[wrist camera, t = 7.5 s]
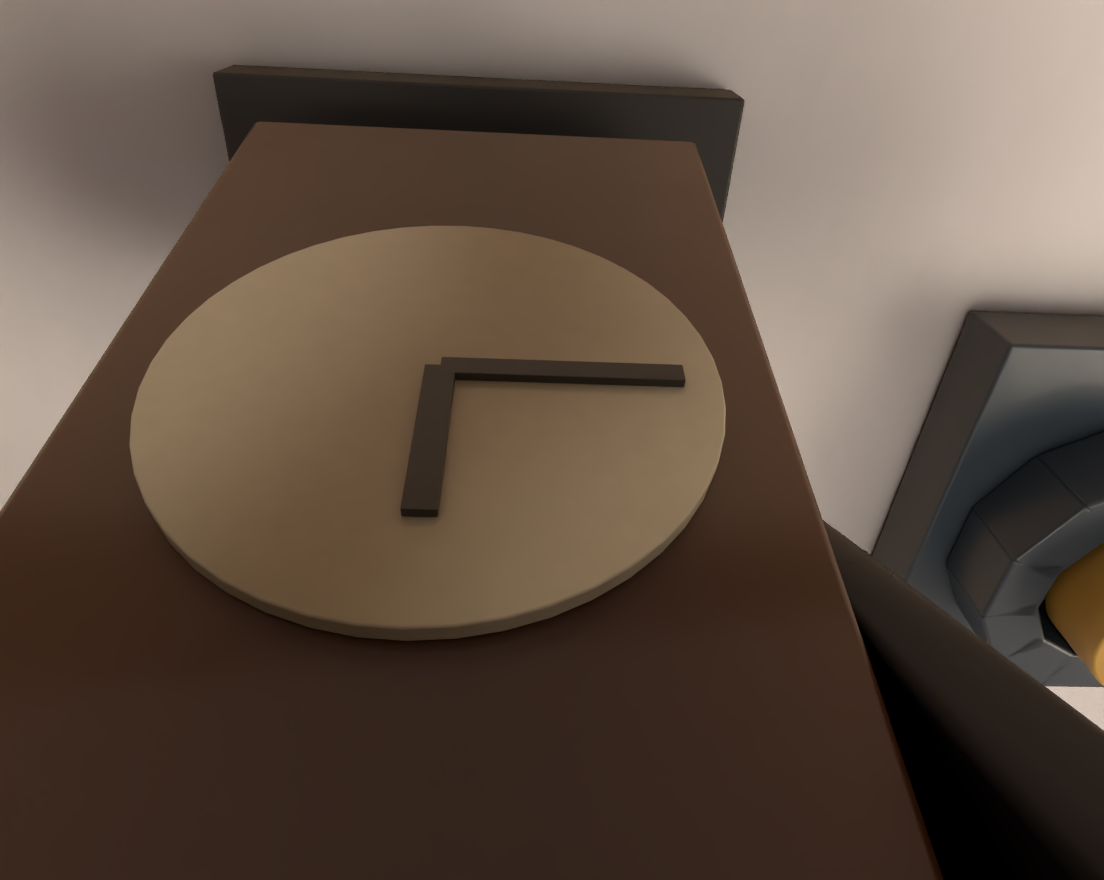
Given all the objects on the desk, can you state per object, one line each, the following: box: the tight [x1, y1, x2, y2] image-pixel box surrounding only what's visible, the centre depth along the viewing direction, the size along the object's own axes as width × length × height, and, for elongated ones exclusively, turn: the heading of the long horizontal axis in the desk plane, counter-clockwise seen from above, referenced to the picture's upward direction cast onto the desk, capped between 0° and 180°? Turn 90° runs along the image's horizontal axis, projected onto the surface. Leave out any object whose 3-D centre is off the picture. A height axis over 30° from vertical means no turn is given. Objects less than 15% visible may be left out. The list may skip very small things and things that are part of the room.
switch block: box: [872, 311, 1104, 687], centre depth 17 cm, size 10×8×4 cm
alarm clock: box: [0, 122, 944, 880], centre depth 9 cm, size 7×11×4 cm
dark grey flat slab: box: [213, 65, 744, 223], centre depth 17 cm, size 9×16×1 cm, turn 177°
